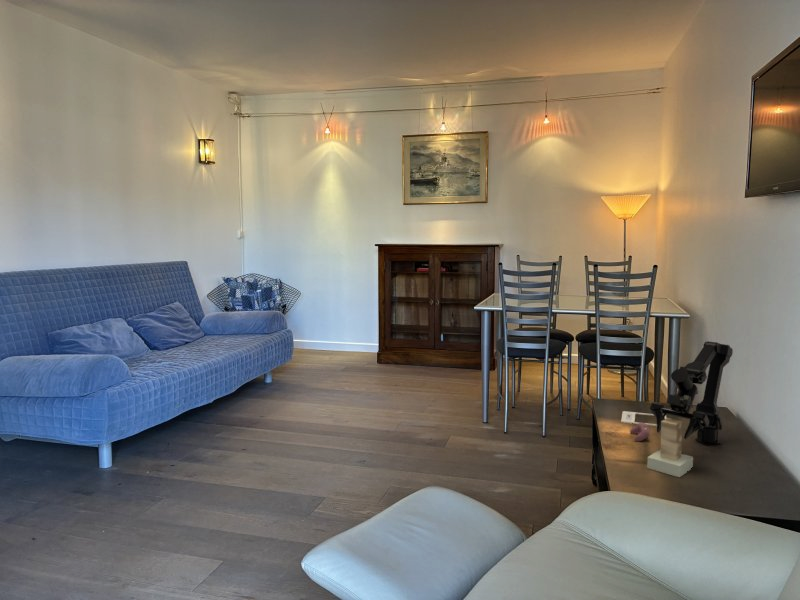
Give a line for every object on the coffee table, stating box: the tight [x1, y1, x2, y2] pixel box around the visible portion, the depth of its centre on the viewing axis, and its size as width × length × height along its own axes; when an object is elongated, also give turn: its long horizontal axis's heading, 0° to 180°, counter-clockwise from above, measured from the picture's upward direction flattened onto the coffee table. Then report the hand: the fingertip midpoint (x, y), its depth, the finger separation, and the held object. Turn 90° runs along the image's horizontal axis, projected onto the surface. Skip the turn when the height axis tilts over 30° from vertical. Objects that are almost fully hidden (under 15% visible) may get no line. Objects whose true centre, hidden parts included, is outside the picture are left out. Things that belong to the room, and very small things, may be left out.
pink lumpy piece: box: [629, 422, 651, 442], centre depth 229 cm, size 10×5×7 cm, turn 169°
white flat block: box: [646, 448, 694, 478], centre depth 200 cm, size 11×11×4 cm
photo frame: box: [620, 410, 667, 427], centre depth 250 cm, size 15×1×18 cm
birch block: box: [660, 417, 683, 461], centre depth 199 cm, size 5×5×13 cm
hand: (671, 435), depth 198 cm, fingers open, 9 cm apart
